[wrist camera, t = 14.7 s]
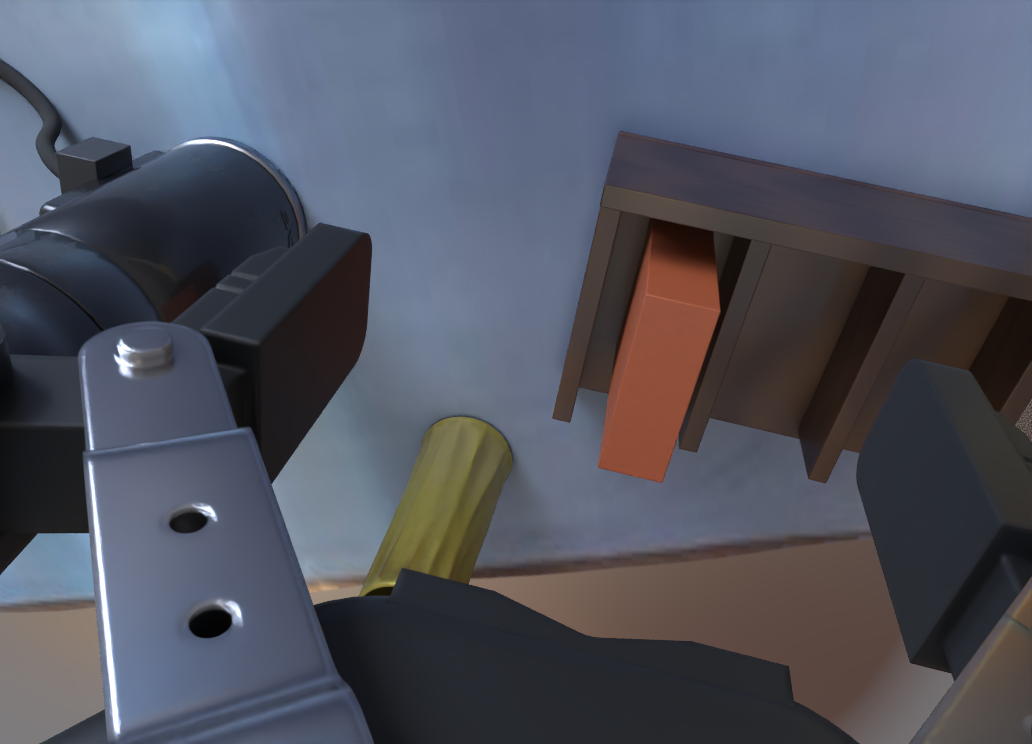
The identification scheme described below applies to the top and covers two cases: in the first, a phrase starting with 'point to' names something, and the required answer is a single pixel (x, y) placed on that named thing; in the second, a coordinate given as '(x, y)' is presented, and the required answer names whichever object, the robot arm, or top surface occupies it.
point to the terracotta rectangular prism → (660, 349)
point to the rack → (810, 293)
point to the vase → (444, 505)
